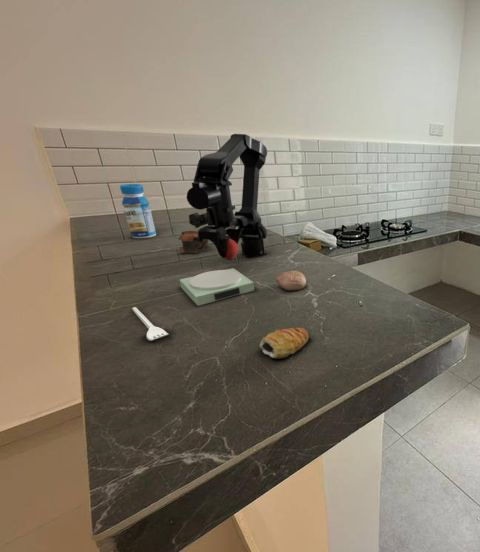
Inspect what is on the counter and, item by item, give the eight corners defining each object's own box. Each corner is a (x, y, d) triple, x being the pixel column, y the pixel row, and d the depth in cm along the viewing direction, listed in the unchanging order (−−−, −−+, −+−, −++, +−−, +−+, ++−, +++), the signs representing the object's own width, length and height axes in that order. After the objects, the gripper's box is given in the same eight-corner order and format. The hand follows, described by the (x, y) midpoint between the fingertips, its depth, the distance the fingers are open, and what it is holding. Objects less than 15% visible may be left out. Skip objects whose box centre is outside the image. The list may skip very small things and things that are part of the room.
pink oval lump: (269, 286, 92) (280, 288, 86) (274, 265, 93) (286, 266, 87) (293, 292, 97) (305, 294, 91) (298, 272, 98) (311, 273, 92)
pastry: (295, 331, 71) (294, 316, 70) (316, 342, 68) (316, 327, 66) (257, 351, 64) (254, 334, 62) (278, 364, 60) (276, 347, 59)
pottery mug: (171, 254, 113) (172, 231, 115) (196, 258, 122) (196, 237, 124) (197, 250, 110) (197, 226, 111) (220, 254, 119) (221, 233, 120)
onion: (231, 264, 97) (227, 238, 94) (214, 262, 98) (210, 236, 95) (244, 258, 103) (240, 234, 99) (228, 256, 103) (224, 232, 100)
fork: (142, 308, 77) (140, 301, 77) (173, 340, 66) (171, 332, 65) (125, 312, 75) (123, 305, 74) (154, 347, 63) (152, 339, 63)
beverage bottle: (161, 236, 131) (149, 185, 124) (136, 240, 125) (122, 187, 117) (151, 232, 135) (139, 183, 128) (127, 236, 129) (112, 184, 121)
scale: (234, 275, 98) (232, 265, 97) (255, 291, 89) (253, 280, 87) (181, 287, 88) (178, 276, 87) (198, 306, 79) (195, 294, 78)
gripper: (209, 196, 102) (217, 244, 108) (171, 207, 85) (184, 263, 91) (245, 198, 102) (251, 245, 108) (215, 209, 85) (224, 265, 91)
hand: (228, 254), depth 100 cm, fingers closed on onion, 6 cm apart
